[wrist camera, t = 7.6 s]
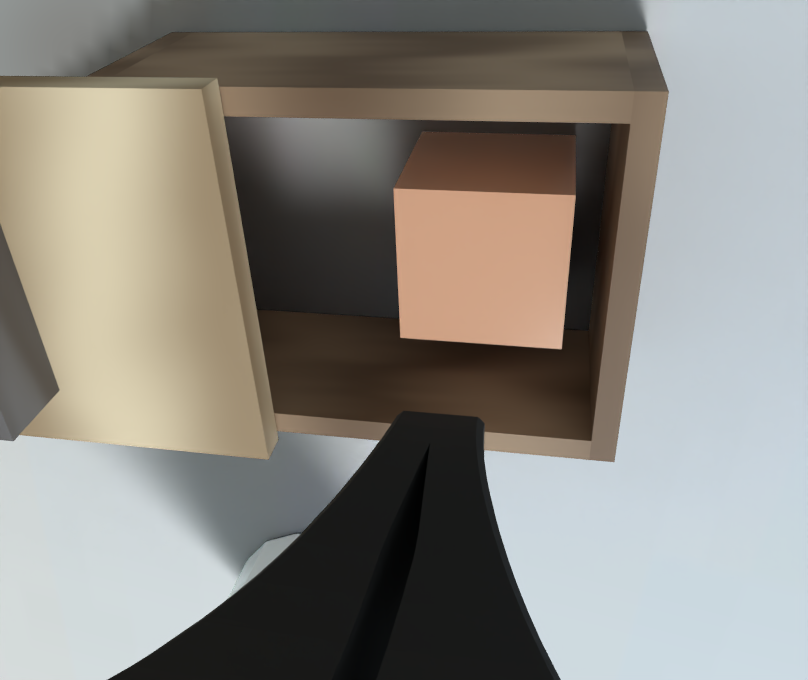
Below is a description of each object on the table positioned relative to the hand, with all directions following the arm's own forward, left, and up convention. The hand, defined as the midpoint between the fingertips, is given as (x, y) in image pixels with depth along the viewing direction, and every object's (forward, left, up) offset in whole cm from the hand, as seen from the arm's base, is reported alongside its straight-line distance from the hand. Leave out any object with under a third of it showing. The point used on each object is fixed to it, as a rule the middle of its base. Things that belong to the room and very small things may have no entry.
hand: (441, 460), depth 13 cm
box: (+2, -1, -10) cm, 11 cm away
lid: (+10, -5, -5) cm, 13 cm away
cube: (0, 0, -10) cm, 10 cm away
